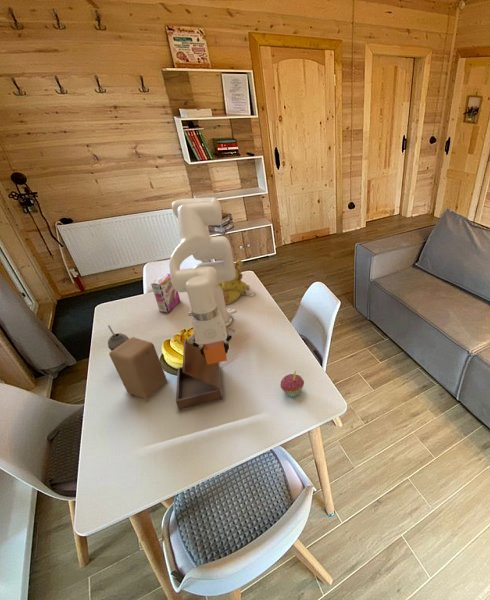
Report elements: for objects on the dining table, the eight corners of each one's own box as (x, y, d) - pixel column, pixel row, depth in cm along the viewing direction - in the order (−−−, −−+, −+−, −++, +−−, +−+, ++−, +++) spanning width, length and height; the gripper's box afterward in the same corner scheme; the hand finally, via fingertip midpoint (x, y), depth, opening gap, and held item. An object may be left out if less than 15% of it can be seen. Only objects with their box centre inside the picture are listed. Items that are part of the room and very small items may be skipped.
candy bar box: (168, 313, 167) (159, 284, 158) (159, 312, 168) (149, 283, 159) (181, 301, 176) (173, 273, 168) (172, 300, 177) (164, 272, 168)
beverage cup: (130, 373, 132) (112, 333, 121) (114, 370, 133) (94, 330, 123) (143, 360, 138) (127, 321, 127) (128, 357, 139) (110, 319, 129)
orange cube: (226, 360, 120) (223, 346, 117) (207, 364, 118) (203, 350, 115) (225, 349, 125) (222, 335, 122) (206, 353, 123) (203, 339, 120)
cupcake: (308, 388, 128) (307, 365, 122) (296, 404, 122) (294, 380, 115) (289, 380, 131) (287, 357, 125) (276, 395, 125) (273, 372, 118)
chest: (179, 411, 117) (175, 401, 115) (181, 377, 131) (177, 367, 128) (222, 400, 122) (220, 390, 119) (219, 368, 136) (217, 359, 133)
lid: (182, 372, 110) (184, 370, 110) (183, 340, 123) (185, 338, 123) (219, 390, 119) (220, 388, 119) (216, 358, 133) (218, 357, 133)
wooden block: (168, 382, 129) (153, 341, 118) (147, 401, 121) (129, 360, 110) (148, 375, 131) (132, 335, 121) (126, 393, 123) (106, 352, 113)
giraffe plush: (212, 286, 190) (205, 256, 179) (255, 284, 193) (251, 254, 183) (206, 306, 173) (197, 273, 162) (253, 303, 177) (248, 271, 166)
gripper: (176, 323, 106) (189, 365, 115) (233, 313, 111) (241, 354, 121) (177, 311, 111) (189, 351, 121) (231, 301, 117) (239, 341, 127)
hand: (215, 352), depth 121 cm, fingers closed on orange cube, 6 cm apart
